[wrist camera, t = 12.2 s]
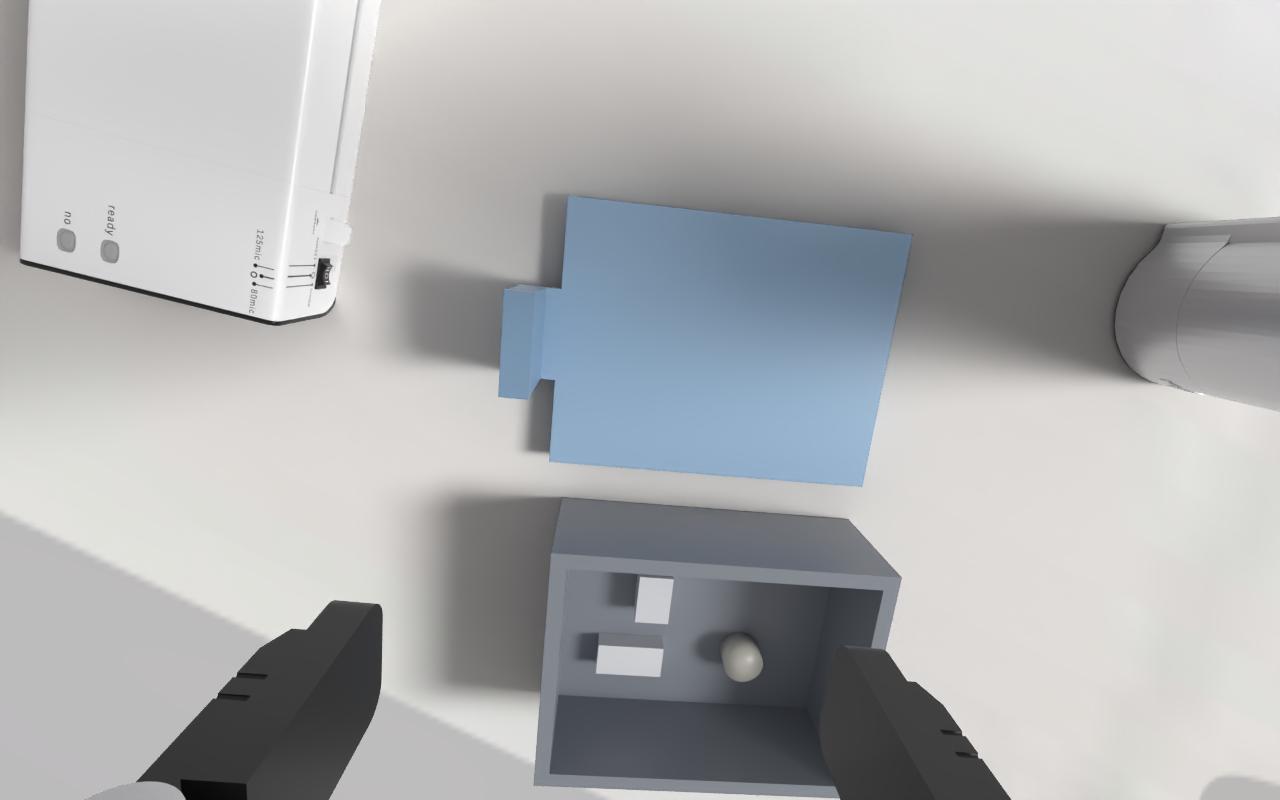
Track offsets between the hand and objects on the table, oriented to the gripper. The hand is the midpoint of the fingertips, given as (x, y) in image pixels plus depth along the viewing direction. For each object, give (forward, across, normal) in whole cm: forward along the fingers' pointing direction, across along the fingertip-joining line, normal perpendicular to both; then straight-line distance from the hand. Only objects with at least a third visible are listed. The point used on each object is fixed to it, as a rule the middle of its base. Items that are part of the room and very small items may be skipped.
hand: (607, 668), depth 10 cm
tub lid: (+25, -5, -3) cm, 26 cm away
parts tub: (+25, -7, +14) cm, 29 cm away
